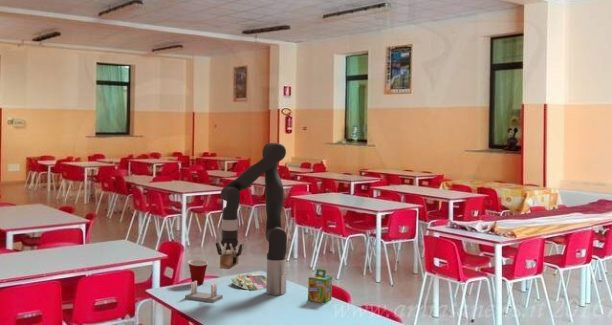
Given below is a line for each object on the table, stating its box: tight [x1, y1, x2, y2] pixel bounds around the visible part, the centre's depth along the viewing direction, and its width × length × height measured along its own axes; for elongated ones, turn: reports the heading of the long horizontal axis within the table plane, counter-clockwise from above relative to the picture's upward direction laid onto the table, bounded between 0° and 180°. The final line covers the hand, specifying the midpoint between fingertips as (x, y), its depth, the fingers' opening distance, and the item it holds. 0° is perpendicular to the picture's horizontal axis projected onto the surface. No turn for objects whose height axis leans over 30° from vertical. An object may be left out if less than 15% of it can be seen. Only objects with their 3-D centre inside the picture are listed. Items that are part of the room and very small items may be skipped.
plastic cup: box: [187, 259, 209, 286], centre depth 317 cm, size 11×11×12 cm
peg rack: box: [184, 281, 223, 303], centre depth 290 cm, size 16×8×8 cm, turn 68°
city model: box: [231, 272, 267, 291], centre depth 318 cm, size 25×23×6 cm
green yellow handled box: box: [307, 268, 333, 304], centre depth 291 cm, size 9×9×15 cm
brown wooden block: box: [219, 250, 240, 270], centre depth 287 cm, size 4×13×6 cm, turn 167°
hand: (229, 264), depth 287 cm, fingers closed on brown wooden block, 4 cm apart
